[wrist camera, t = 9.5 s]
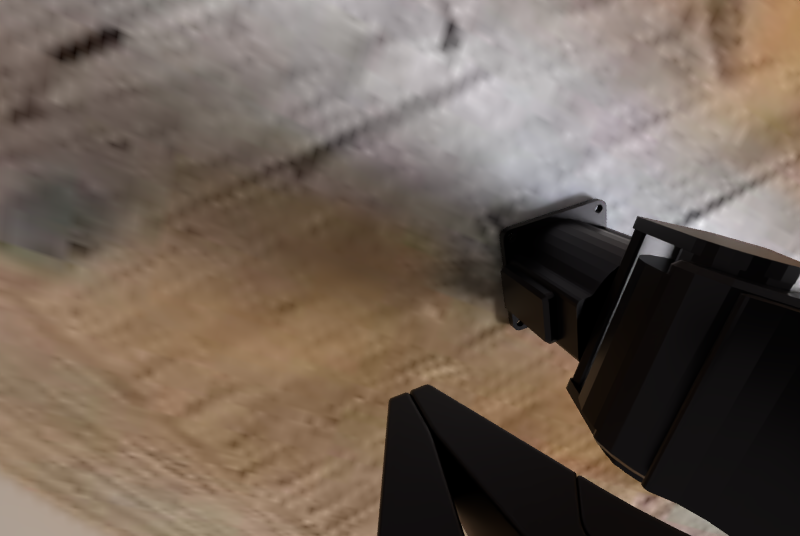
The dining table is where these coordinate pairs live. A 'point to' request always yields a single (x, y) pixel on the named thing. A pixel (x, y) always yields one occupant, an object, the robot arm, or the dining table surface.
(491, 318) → the dining table surface
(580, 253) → the robot arm
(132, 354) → the dining table surface
